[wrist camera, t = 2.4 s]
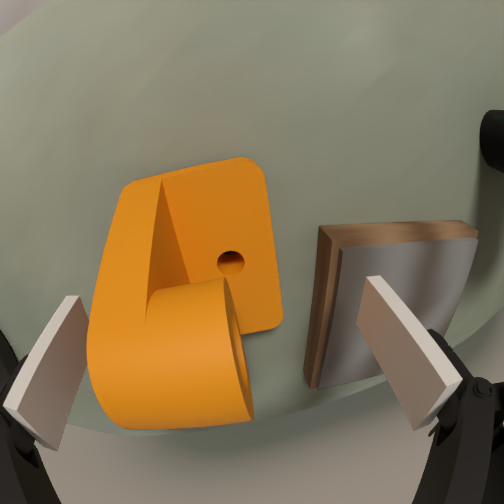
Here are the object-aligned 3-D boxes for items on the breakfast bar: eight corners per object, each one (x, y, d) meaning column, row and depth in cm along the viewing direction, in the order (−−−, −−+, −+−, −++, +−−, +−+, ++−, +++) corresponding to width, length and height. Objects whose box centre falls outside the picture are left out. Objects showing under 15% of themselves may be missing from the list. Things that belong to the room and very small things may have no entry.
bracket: (277, 302, 21) (323, 451, 10) (181, 319, 20) (169, 472, 10) (255, 152, 16) (336, 224, 5) (136, 178, 16) (18, 287, 5)
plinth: (303, 369, 24) (311, 393, 22) (319, 225, 18) (336, 244, 16) (422, 341, 26) (435, 359, 23) (461, 220, 20) (483, 233, 17)
